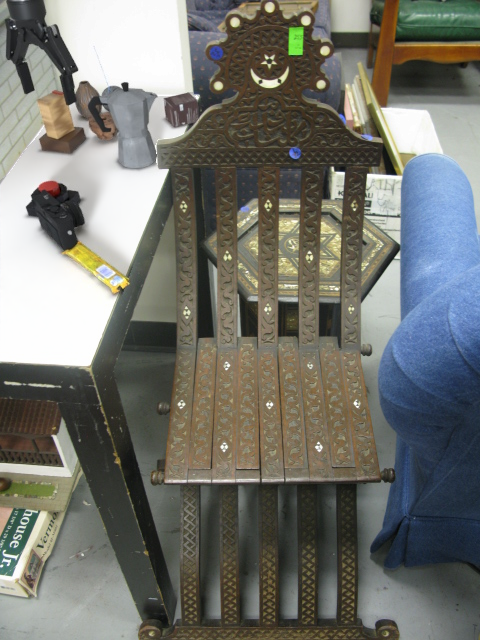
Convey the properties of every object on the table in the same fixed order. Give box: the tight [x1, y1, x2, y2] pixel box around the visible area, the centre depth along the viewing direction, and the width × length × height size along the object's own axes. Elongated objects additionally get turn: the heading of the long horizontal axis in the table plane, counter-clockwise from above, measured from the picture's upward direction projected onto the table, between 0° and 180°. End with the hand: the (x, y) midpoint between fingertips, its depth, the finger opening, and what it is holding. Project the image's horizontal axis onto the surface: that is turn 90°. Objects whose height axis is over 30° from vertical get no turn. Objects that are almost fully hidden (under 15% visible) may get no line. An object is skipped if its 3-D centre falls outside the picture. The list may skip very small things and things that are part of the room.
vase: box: [74, 80, 103, 119], centre depth 147 cm, size 7×7×9 cm
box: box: [163, 92, 200, 128], centre depth 145 cm, size 6×6×7 cm
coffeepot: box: [88, 81, 159, 169], centre depth 126 cm, size 15×9×18 cm, turn 99°
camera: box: [30, 189, 86, 252], centre depth 108 cm, size 14×7×8 cm, turn 39°
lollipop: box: [93, 46, 123, 113], centre depth 142 cm, size 10×20×7 cm
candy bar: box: [61, 240, 130, 295], centre depth 101 cm, size 17×4×2 cm, turn 46°
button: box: [37, 180, 60, 196], centre depth 115 cm, size 4×4×2 cm
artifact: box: [88, 112, 119, 141], centre depth 139 cm, size 8×8×5 cm
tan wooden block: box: [36, 89, 75, 139], centre depth 134 cm, size 6×4×9 cm, turn 148°
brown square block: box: [38, 126, 87, 155], centre depth 138 cm, size 8×8×3 cm
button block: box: [25, 182, 82, 218], centre depth 117 cm, size 8×8×4 cm
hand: (50, 97), depth 131 cm, fingers open, 13 cm apart
